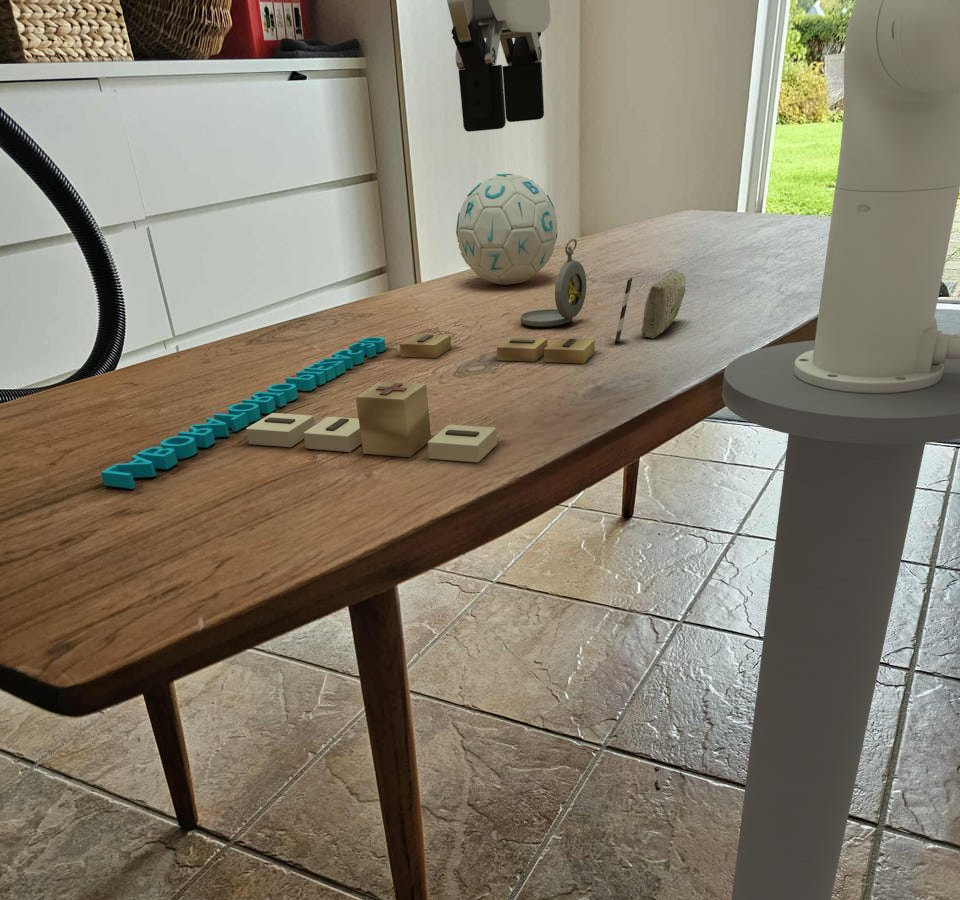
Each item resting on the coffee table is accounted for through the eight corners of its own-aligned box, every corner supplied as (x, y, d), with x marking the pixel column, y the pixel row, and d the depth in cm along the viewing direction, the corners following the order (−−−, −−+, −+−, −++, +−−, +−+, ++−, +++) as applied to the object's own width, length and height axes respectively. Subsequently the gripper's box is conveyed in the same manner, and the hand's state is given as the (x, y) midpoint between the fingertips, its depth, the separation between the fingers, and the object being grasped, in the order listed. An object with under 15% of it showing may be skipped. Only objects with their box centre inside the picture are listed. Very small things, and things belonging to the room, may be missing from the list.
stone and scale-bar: (614, 344, 103) (642, 318, 112) (651, 353, 102) (677, 327, 111) (627, 280, 99) (656, 259, 108) (666, 289, 98) (692, 267, 107)
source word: (594, 353, 100) (594, 337, 100) (583, 363, 97) (583, 347, 96) (417, 346, 108) (415, 332, 107) (400, 356, 104) (399, 341, 104)
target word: (497, 444, 77) (496, 425, 76) (478, 462, 74) (477, 443, 73) (275, 428, 85) (272, 410, 84) (248, 444, 81) (244, 426, 81)
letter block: (431, 439, 79) (426, 381, 77) (410, 457, 76) (403, 397, 73) (386, 436, 81) (379, 379, 78) (363, 453, 77) (355, 394, 75)
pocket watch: (519, 318, 117) (516, 235, 112) (584, 314, 117) (584, 231, 111) (521, 334, 110) (518, 246, 105) (590, 329, 110) (590, 241, 104)
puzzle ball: (498, 271, 147) (493, 168, 139) (577, 277, 139) (576, 168, 131) (440, 289, 137) (431, 180, 129) (521, 296, 129) (517, 180, 121)
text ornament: (132, 488, 73) (128, 475, 73) (104, 485, 74) (100, 472, 74) (389, 347, 108) (388, 337, 107) (367, 346, 109) (366, 336, 108)
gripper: (496, -195, 54) (516, 129, 63) (572, -149, 68) (580, 113, 77) (384, -170, 57) (419, 138, 66) (479, -131, 70) (497, 121, 79)
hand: (506, 124), depth 71 cm, fingers open, 9 cm apart
